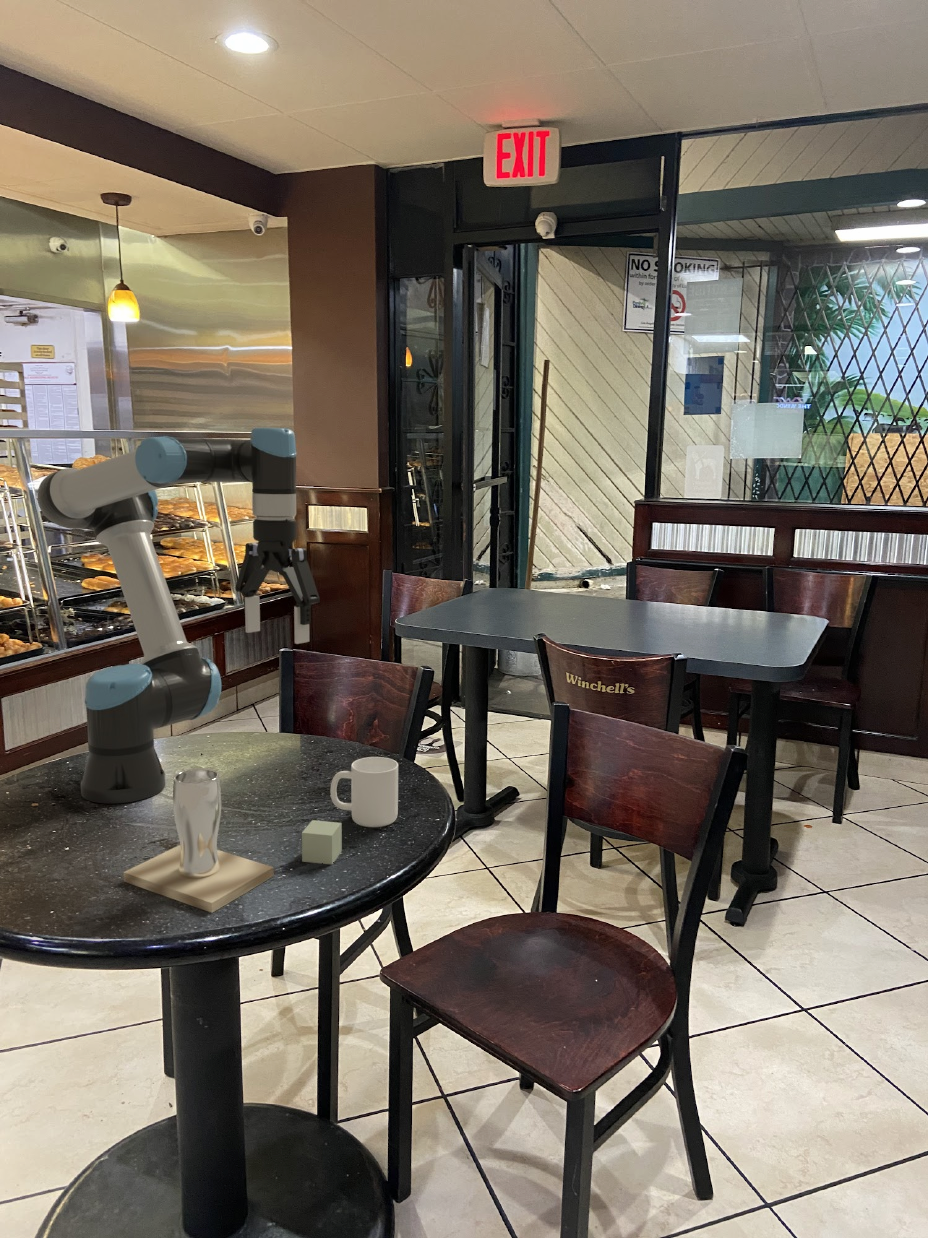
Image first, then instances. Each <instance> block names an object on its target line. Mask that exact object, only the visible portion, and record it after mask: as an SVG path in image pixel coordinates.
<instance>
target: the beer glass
mask: <svg viewBox="0 0 928 1238" xmlns="http://www.w3.org/2000/svg"><path fill="white" fill-rule="evenodd" d="M172 788H173V789H172V808H173V809H172V810H173V817H174V822H175V827H176V830H177V831H176V832H177V835H178V836H177V837H178V840H179V845H180V846H181V858H180V865H179V873H180V874H181V875H182V876H184V877H188V878H202V877H207V876H210V875H213V874H214V873H216V872H217V871H218V870H219V869H220V861H219V857H218V852H217V850H218V846H217V845H218V844H217V843H218V834H219V831H220V830H219V829H220V823H221V822H220V821H221V815H222V814H221V813H222V790H221V780H220V773H219V772H218V771H217V770H215V769H213V768H212V769H211V768H201V767H197V768H190V769H185V770H182V771H179V772H178V773H175V775H174V776H173V787H172Z"/></svg>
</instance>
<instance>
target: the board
mask: <svg viewBox="0 0 928 1238" xmlns="http://www.w3.org/2000/svg"><path fill="white" fill-rule="evenodd" d="M217 852H218V857H219V861H220V869H219V870H218V871H217V872H216V873H214V874H213V875H210V876H207V877H202V878H188V877H184V876H182V875H181V874H180V873H179V865H180V858H181V846H180V844H179V845H177V846H175V847H173V848H171V849H169V850H166V851H165V852H162V853H161V854H158V855H156V856H154V857H152V858H150V859H148V860H146V861H144V862H142V863H140V864H138V865H136V866H134V867H131V868H129V869H128V870H126V871H123V882H124V883H127V884H130V885H133V886H135V887H139V888H141V889H144V890H147V891H149V892H152V893H155V894H158V895H161V896H163V897H167V898H168V899H172V900H174V901H175V900H176V901H178V902H181V903H183V904H186V905H189V906H192V907H195V908H197V909H200V910H204V911H206V912H208V913H210V914H213V913H214V912H216V911H217V910H219V909H221V908H223V907H224V906H226V905H228V904H230V903H231V902H233V901H234V900H236V899H238V898H240V897H241V896H243V895H244V894H246V893H248V892H249V891H252V889H254V888H257V887H259V885H261V884H263V883H264V882H266V881H268V880H270V879H271V878H273V877H274V872H275V871H274V867H273V866H272V865H267V864H264V863H261V862H258V861H255V860H251V859H248V858H245V857H241V856H239V855H235V854H232V853H229V852H225V851H222V850H220V849H217Z"/></svg>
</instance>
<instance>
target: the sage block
mask: <svg viewBox="0 0 928 1238" xmlns="http://www.w3.org/2000/svg"><path fill="white" fill-rule="evenodd" d="M342 824H343V823H342V822H336V821H335V822H333V821H324V820H313V819H312V820H311V821H310V822H309V823H308V825H307V826H306V827H305V828H304V829H303V830H302V832H301V862H302V863H304V862H305V863H312V864H313V863H314V864H322V863H323V864H325V865H333V864H334V863H335V861H336V860H337V859H338V857H339V855H340V854H341V853H342V851H343V847H342V846H343V845H342V842H343V841H342V839H343V838H342V837H343V836H342V833H343V832H342V828H343V827H342ZM333 862H334V863H333Z"/></svg>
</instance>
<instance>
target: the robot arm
mask: <svg viewBox="0 0 928 1238" xmlns="http://www.w3.org/2000/svg"><path fill="white" fill-rule="evenodd" d="M250 434H251V435H250V439H242V438H241V439H237V438H235V439H234V438H206V437H205V438H203V437H176V436H168V435H160V436H149V437H146V438H143V439H142V440H141V441H140V445H138V446H137V447H136V449H135V450H130V451H129V452H126V453H123V454H120V455H118V456H113V457H111V458H108V459H106V460H103V461H99V462H98V463H94V464H92V465H89V466H85V467H83V468H80V469H79V468H75V467H66V468H63V469H60V470H57V471H55V472H51V473H50V474H48V475H46V477H45V478H43V479H42V481H41V482H40V484H39V486H38V489H37V493H36V495H37V496H36V498H37V499H36V500H37V503H38V505H37V506H39V509H40V511H41V512H42V514H43V515H44V517H45V518H46V519H48V520H49V521H50V522H52V523H53V524H55V525H57V526H58V527H62V528H65V529H70V530H71V529H72V530H83V529H84V530H87V529H88V530H89V529H91V530H92V531H93V533H94V536H95V540H96V541H97V543H98V544H101V545H103V546H105V547H106V548H107V549H108V553H109V555H110V559H111V562H112V564H113V567H114V570H115V573H116V576H117V579H118V582H119V585H120V588H121V591H122V594H123V597H124V600H125V602H126V605H127V608H128V611H129V614H130V617H131V620H132V623H133V626H134V629H135V631H136V634H137V637H138V640H139V643H140V646H141V650H142V652H143V658H142V661H141V662H140V663H127V664H124V665H123V664H122V665H121V664H120V665H119V664H118V665H115V666H111V667H110V666H109V667H107V668H104V669H101V670H99V671H97V672H95V673H93V674H92V675H90V677H89V678H88V680H87V682H86V683H85V694H84V695H85V698H84V704H85V709H86V710H85V711H86V724H87V725H86V727H87V741H88V742H87V743H88V744H87V745H88V756H87V760H86V763H85V767H84V772H83V776H82V778H81V781H80V794H81V796H82V798H83V799H85V800H86V801H90V802H93V803H99V804H125V803H132V802H137V801H141V800H145V799H148V798H151V797H152V796H155V795H158V794H159V793H160V792H162V791H163V790H164V789H165V788H166V774H165V771H164V769H163V766H162V763H161V761H160V759H159V755H158V753H157V751H156V749H155V739H154V737H155V735H154V734H155V733H154V732H155V730H156V729H157V730H158V729H160V728H163V727H167V726H170V725H175V724H178V723H182V722H185V721H194V720H195V719H197V718H200V717H203V716H206V715H209V714H210V713H211V712H212V711H214V709H215V708H216V707H217V706H218V703H219V700H220V697H221V693H222V679H221V674H220V671H219V669H218V666H217V665H216V664H215V663H214V662H213V661H212V660H211V659H209V658H207V657H206V658H205V657H201V654H200V652H199V648H198V647H197V645H194V644H192V643H189V642H188V640H187V638H186V635H185V632H184V630H183V626H182V624H181V622H180V618H179V614H178V612H177V609H176V607H175V603H174V600H173V598H172V595H171V592H170V589H169V587H168V586H169V585H168V584H167V581H166V578H165V575H164V572H163V569H162V566H161V564H160V561H159V558H158V554H157V552H156V548H155V546H154V543H153V540H152V538H151V533H152V532H153V529H154V528H155V524H154V523H155V522H154V521H155V520H156V519H157V517H158V513H159V508H158V507H157V506H159V499H158V494H157V492H156V491H157V490H159V489H163V488H168V487H171V486H174V485H177V484H184V483H251V485H252V494H251V497H252V498H251V500H252V501H251V502H252V504H251V505H252V511H251V512H252V516H253V517H256V518H255V519H253V521H252V533H253V534H252V538H253V539H254V541H256V542H248V543H247V542H246V544H245V550H244V558H243V561H242V564H241V567H240V570H239V573H238V574H239V575H238V577H237V581H236V584H235V591H236V592H237V593H238V592H239V593H241V596H242V597H243V612H244V614H245V615H244V617H245V633H247V634H249V633H256V632H260V631H261V609H260V608H261V605H260V604H261V602H260V596H259V594H260V593H259V592H258V591H259V589H260V587H261V586H262V584H263V582H264V580H265V579H266V577H267V575H268V574H269V572H271V571H272V572H275V573H278V574H279V575H280V576H282V577H283V579H284V581H285V583H286V585H287V587H288V588H289V590H290V592H291V594H292V596H293V598H294V600H295V602H296V604H295V605H294V606H293V607H294V609H293V610H294V611H293V613H294V614H293V617H294V621H293V623H294V626H293V627H294V644H296V645H299V644H304V643H308V642H310V625H311V622H312V606H313V605H315V604H319V603H320V600H321V598H320V595H319V592H318V590H317V589H318V588H317V586H316V583H315V579H314V577H313V574H312V570H311V567H310V565H309V562H308V554H307V552H308V551H307V549H306V547H301V548H299V547H297V548H294V545H293V544H294V541H296V540H297V538H298V528H297V527H298V521H296V519H294V517H296V515H297V455H298V452H297V448H296V447H297V446H296V436H295V432H294V431H293V430H292V429H290V428H284V427H283V428H281V427H254V428H252V429H251V432H250Z"/></svg>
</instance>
